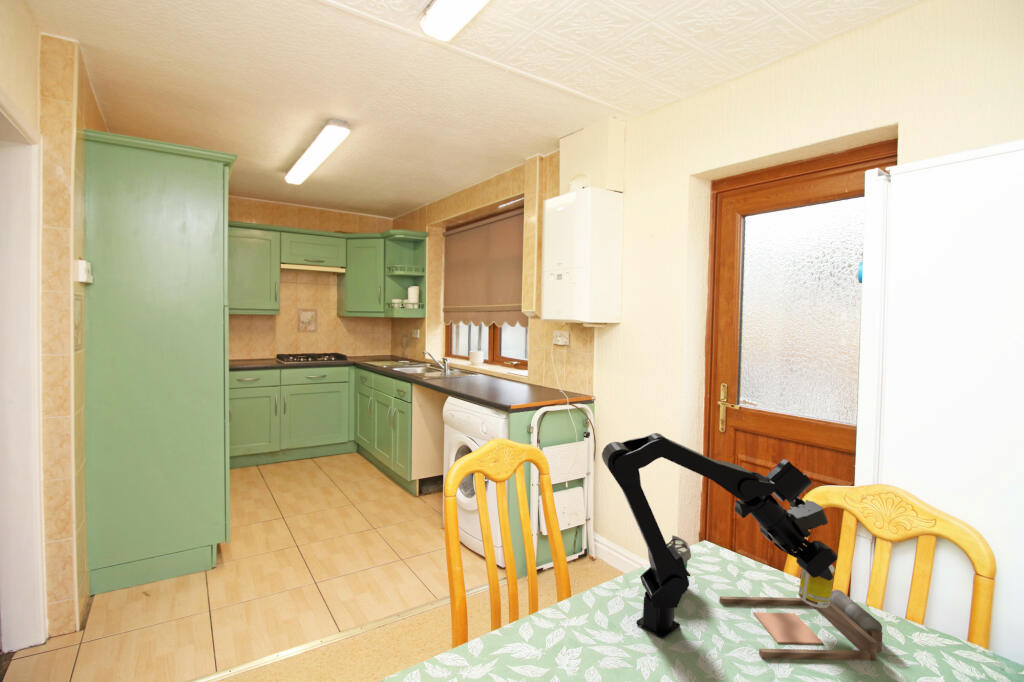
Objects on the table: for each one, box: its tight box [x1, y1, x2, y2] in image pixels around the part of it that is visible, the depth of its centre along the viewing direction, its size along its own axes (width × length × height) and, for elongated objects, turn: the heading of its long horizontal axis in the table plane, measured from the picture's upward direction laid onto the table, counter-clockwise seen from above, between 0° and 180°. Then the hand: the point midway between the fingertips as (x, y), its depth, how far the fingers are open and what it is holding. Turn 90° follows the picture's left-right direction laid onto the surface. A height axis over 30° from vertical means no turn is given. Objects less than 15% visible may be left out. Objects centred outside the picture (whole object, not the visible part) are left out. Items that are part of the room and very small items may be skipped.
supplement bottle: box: [798, 564, 835, 608], centre depth 104 cm, size 6×6×10 cm
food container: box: [666, 534, 692, 570], centre depth 119 cm, size 12×6×10 cm, turn 143°
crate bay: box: [719, 589, 884, 661], centre depth 105 cm, size 25×19×5 cm
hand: (822, 571), depth 104 cm, fingers closed on supplement bottle, 5 cm apart
